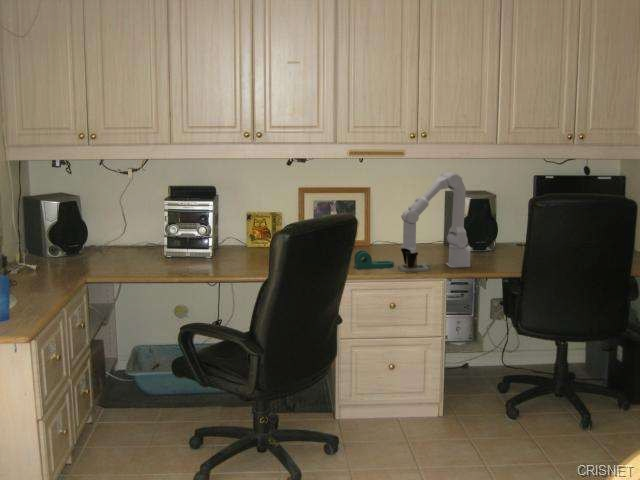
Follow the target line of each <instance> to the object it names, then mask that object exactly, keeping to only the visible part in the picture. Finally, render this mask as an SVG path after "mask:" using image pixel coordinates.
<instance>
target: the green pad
mask: <svg viewBox="0 0 640 480" xmlns="http://www.w3.org/2000/svg"><path fill="white" fill-rule="evenodd" d="M417 264H424V265H426V266H427V267H430V266H431V263H429V262H417Z"/></svg>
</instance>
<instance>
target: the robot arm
mask: <svg viewBox="0 0 640 480" xmlns="http://www.w3.org/2000/svg"><path fill="white" fill-rule="evenodd" d="M446 189H449V190H450V191H452V193H453V198H452V217H451V227H449V229H448V234H447V237H446V241H447V242H448V244H449V245H448V262H446V263H445V265H446V266H448V267H449V268H453V269H454V268H471V249H470V247H469V246H467V245H468V243H469V240H468V236H467V231H466V229H465V209H466V194H467V193H466V192H467V189H466V186H465V184H464V182H463V177H461V175H460V174H458V173H455V172H449V171H443V172H442V173H441V174H440V175H439V176H438V177H437V178H436V180H435V181H434V182H433V184H432V185H431V186H430V188H428V190H427V191H426V192H425V193H424V195H423V196H419V197H418V198H417V197H416V198H415V199H414V202H413V203H412V204H411V205H410V206H408V209H405V210H404V211H403V212H402V215H400V217H401V219H402V221H403V222H402V223H403V225H402V227H403V229H402V245H400V251H401V253H402V255H403V256H402V257H403V263H404V265H406V256H407V261H408V267H413V266H414V262H415V259H416V257H417V258H418V255H419V253H418V252H417V251H416V249H417V245H416V244H417V222H418V221H419V219H420V218H419V217H420V215H421V214H422V213H423V212H424V211H425V210H426V209H427V208H428V207H429V204H430V203H429V202H431V200H432V199H433V198H434V197H435V196H436V195H437V194H438V193H439V192H440V191H442V190H446Z"/></svg>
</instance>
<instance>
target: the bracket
mask: <svg viewBox="0 0 640 480" xmlns="http://www.w3.org/2000/svg"><path fill="white" fill-rule="evenodd" d="M353 259H354V260H353V261H354V262H353V263H354V264H353V265H354V268H356V270H371V269H372V270H373V269H374V270H376V269H377V270H378V269H393V268H394V267H395V261H392V260H373V258H372V256H371V254H369V253H368V252H367V250H364V249H359V250H357V251H356V252H355V254H354V257H353ZM372 260H373V261H372Z"/></svg>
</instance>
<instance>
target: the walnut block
mask: <svg viewBox="0 0 640 480" xmlns="http://www.w3.org/2000/svg"><path fill="white" fill-rule="evenodd" d="M417 264H418V256H417V257H416V259H415V262H414V266H413V267H408V261H407V256H406V264H405V265H406V268H417Z"/></svg>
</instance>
